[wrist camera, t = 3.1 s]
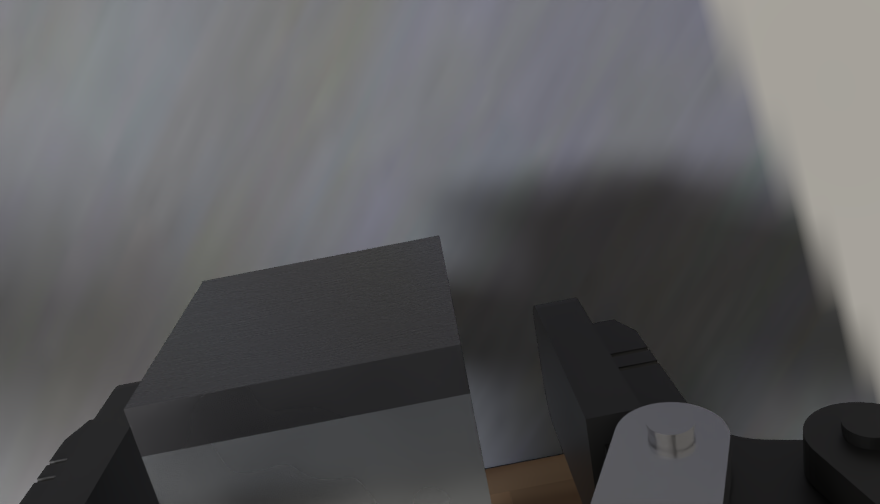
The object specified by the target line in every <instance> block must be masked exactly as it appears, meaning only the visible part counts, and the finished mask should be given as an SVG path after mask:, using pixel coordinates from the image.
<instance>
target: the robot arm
mask: <svg viewBox="0 0 880 504" xmlns="http://www.w3.org/2000/svg"><path fill="white" fill-rule="evenodd" d="M533 315H534V323H535V330H536V336H537V343H538V349H539V356H540V362H541V369H542V375H543V382H544V388H545V394H546V399H547V403H548V408H549V412H550V416H551V419H552V422H553V425H554V428H555V431H556V434H557V436H558V439H559V442H560V444H561V447H562V450H563V452H564V455H565V458H566V461H567V463H568V466H569V469H570V471H571V474H572V477H573V479H574V482H575V485H576V488H577V490H578V493H579V496H580V498H581V501H582V504H880V404H875V403H864V402H848V403H839V404H834V405H830V406H827V407H824V408H821V409H819V410H817V411H815V412H814V413H813V414H811V415H810V416H809V417H808V418H807V420H806V421H805V423H804V426H803V440H760V439H749V438H742V437H738V436H733V435H730V431H729V428H728V426H727V424H726V423H725V421H724V420H723V419H722V418H721V417H720V416H718V415H717V414H715V413H714V412H712V411H710V410H708V409H706V408H703V407H700V406H697V405H693V404H688V403H687V402H686V401H685V400H684V398H683V397H682V395H681V394H680V392H679V391H678V390H677V388H676V387H675V385H674V384H673V383H672V381H671V380H670V378H669V377H668V375H667V374H666V373H665V371H664V370H663V368H662V367H661V366H660V364H657V360H656V359H655V357H654V356H653V354H652V353H651V351H650V350H648V348H647V346H646V344H645V343H644V342H643V340H642V339H641V337H640V336H639V335H638V333H637V332H636V331H635V330H633V329H631V328H629V327H627V326H625V325H623V324H621V323H619V322H617V321H616V320H609V321H604V322H599V323H594V324H592V323H591V321H590V319H589V317H588V316H587V314H586V312H585V311H584V309H583V307H582V306H581V304H580V302H579V301H578V299H577V298H572V299H567V300H562V301H557V302H552V303H546V304H541V305H536V306H533ZM140 382H141V381H140ZM140 382H134V383H129V384H124V385H119V386H117V387H116V388H115V389H114V391H113V392H112V394H111V395H110V396H109V398H108V399H107V401H106V402H105V404H104V405H103V407H102V408H101V410H100V411H99V413H98V414H97V416H96V417H95V419H93V420H89V421H88V422H87V423H85V424H84V425H83V426H82V427H81V428H79V429H78V430H77V431H76V432H74V433H73V434H72V435H71V436H69V437H68V438H67V439H66V440H65V441H64V442H63V443H62V445H61V446H60V447H59V449H58V450H57V452H56V453H55V454H54V456H53V457H52V459H51V460H50V465H47V466H46V467H45V469H44V470H43V471H42V473H41V474H40V476H39V477H38V478H37V480H38V483H34V484H33V485H32V487H31V488H30V490H29V491H28V492H27V494H26V495H25V497H24V498H23V500H22V501H21V502H20V504H159V501H158V499H157V496H156V494H155V491H154V488H153V486H152V483H151V480H150V478H149V475H148V473H147V470H146V467H145V465H144V462H143V459H142V457H141V454H140V452H139V449H138V446H137V444H136V441H135V438H134V436H133V433H132V430H131V428H130V425H129V423H128V420H127V417H126V415H125V412H124V408H125V406H126V405H127V403H128V402H129V400H130V398H131V397H132V395H133V393H134V392H135V390H136V389H137V387H138V385H139V384H140Z"/></svg>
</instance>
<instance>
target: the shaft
mask: <svg viewBox="0 0 880 504" xmlns="http://www.w3.org/2000/svg"><path fill="white" fill-rule="evenodd" d="M124 412H125V415H126V417H127V420H128V423H129V425H130V428H131V430H132V433H133V436H134V438H135V441H136V444H137V446H138V449H139V452H140V454H141V457H142V459H143V462H144V465H145V467H146V470H147V473H148V475H149V478H150V480H151V483H152V486H153V488H154V491H155V494H156V496H157V499H158V501H159V504H491V499H490V494H489V488H488V483H487V478H486V473H485V468H484V463H483V457H482V452H481V447H480V442H479V437H478V431H477V426H476V421H475V416H474V411H473V406H472V400H471V395H470V390H469V385H468V380H467V375H466V369H465V364H464V359H463V354H462V349H461V343H460V338H459V333H458V328H457V323H456V318H455V313H454V308H453V303H452V298H451V293H450V288H449V283H448V277H447V272H446V267H445V262H444V257H443V252H442V247H441V242H440V237H439V236H434V237H429V238H424V239H419V240H413V241H408V242H403V243H398V244H393V245H388V246H382V247H377V248H372V249H367V250H362V251H357V252H352V253H346V254H341V255H336V256H331V257H326V258H321V259H315V260H310V261H305V262H300V263H295V264H290V265H284V266H279V267H274V268H269V269H264V270H259V271H254V272H248V273H243V274H238V275H233V276H228V277H223V278H217V279H212V280H207V281H203V282H202V284H201V286H200V287H199V289H198V290H197V292H196V294H195V295H194V297H193V299H192V300H191V302H190V303H189V305H188V307H187V308H186V310H185V311H184V313H183V315H182V316H181V318H180V319H179V321H178V323H177V324H176V326H175V327H174V329H173V331H172V332H171V334H170V336H169V337H168V339H167V340H166V342H165V344H164V345H163V347H162V348H161V350H160V352H159V353H158V355H157V356H156V358H155V360H154V361H153V363H152V365H151V366H150V368H149V369H148V371H147V373H146V374H145V376H144V377H143V379H142V381H141V382H140V384H139V385H138V387H137V389H136V390H135V392H134V393H133V395H132V397H131V398H130V400H129V402H128V403H127V405H126V406H125V408H124Z"/></svg>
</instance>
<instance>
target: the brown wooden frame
mask: <svg viewBox="0 0 880 504" xmlns="http://www.w3.org/2000/svg"><path fill="white" fill-rule="evenodd" d="M485 473H486V478H487V483H488V488H489V494H490V499H491V504H582V501H581V498H580V496H579V493H578V490H577V488H576V485H575V482H574V479H573V477H572V474H571V471H570V469H569V466H568V463H567V461H566V458H565V455H564V454H562V455H557V456H552V457H546V458H541V459H536V460H531V461H526V462H521V463H515V464H510V465H505V466H500V467H495V468H489V469H485Z"/></svg>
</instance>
